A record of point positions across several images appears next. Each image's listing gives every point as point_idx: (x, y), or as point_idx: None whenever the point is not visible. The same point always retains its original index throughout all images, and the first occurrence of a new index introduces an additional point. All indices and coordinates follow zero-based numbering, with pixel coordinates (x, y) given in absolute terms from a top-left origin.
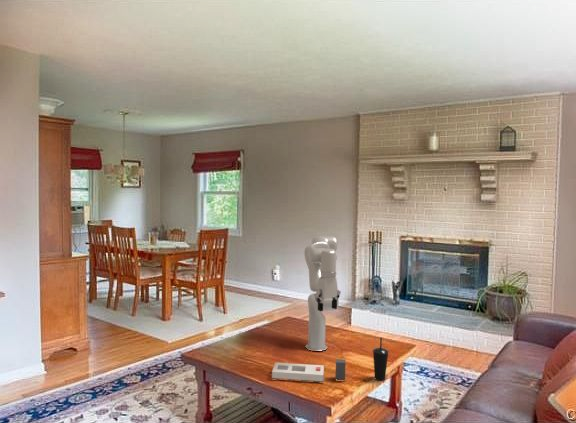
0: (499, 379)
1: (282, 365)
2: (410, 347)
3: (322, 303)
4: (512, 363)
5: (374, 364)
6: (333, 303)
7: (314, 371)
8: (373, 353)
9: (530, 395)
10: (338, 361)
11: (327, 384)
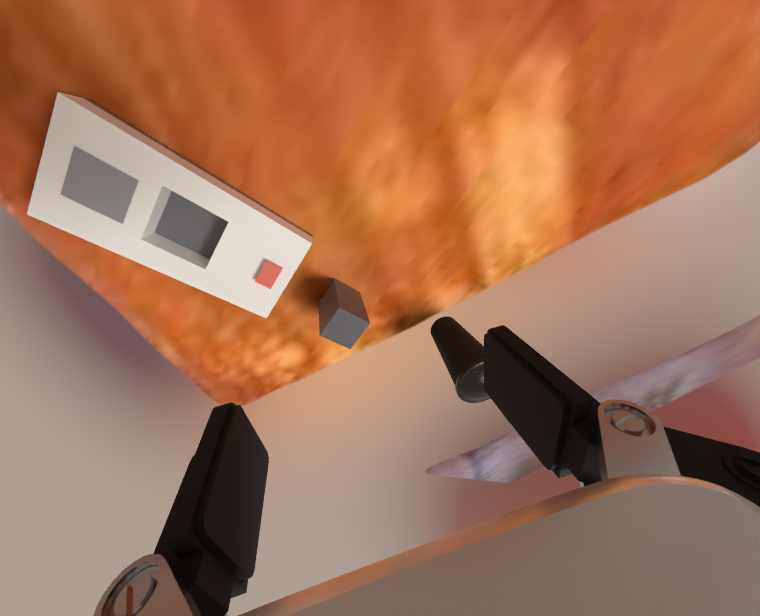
0: (622, 394)
1: (101, 161)
2: (739, 154)
3: (231, 592)
4: (724, 349)
5: (444, 350)
6: (526, 402)
7: (246, 282)
8: (459, 370)
9: None
10: (333, 331)
11: (281, 313)
